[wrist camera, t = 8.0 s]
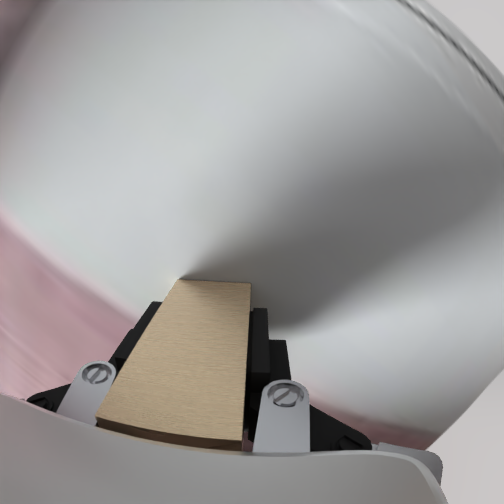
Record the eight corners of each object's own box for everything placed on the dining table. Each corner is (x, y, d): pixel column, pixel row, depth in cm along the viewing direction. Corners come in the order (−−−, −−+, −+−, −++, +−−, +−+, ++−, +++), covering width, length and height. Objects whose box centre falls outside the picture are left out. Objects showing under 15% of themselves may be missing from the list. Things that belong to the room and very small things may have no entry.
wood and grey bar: (177, 279, 12) (94, 416, 5) (251, 283, 12) (241, 440, 5) (209, 505, 20) (201, 570, 12) (242, 508, 20) (238, 573, 12)
